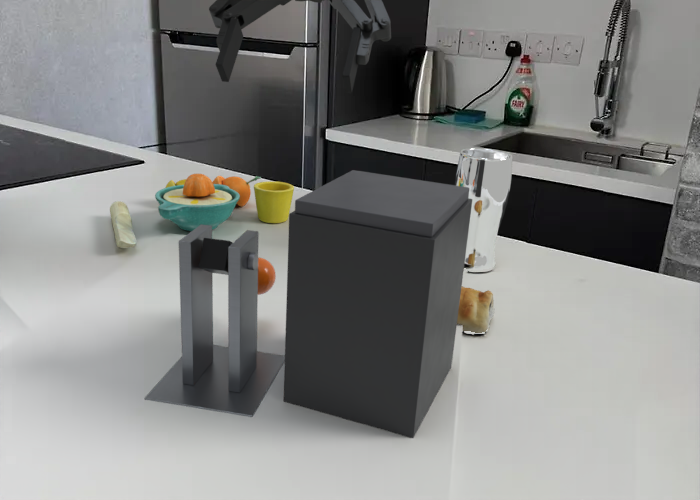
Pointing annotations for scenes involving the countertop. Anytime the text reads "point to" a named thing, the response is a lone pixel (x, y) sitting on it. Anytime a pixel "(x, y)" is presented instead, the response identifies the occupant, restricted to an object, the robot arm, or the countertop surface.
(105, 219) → the countertop surface
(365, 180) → the lidded storage box
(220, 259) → the lever
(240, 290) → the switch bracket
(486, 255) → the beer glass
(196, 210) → the toy juicer set
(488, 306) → the pastry
